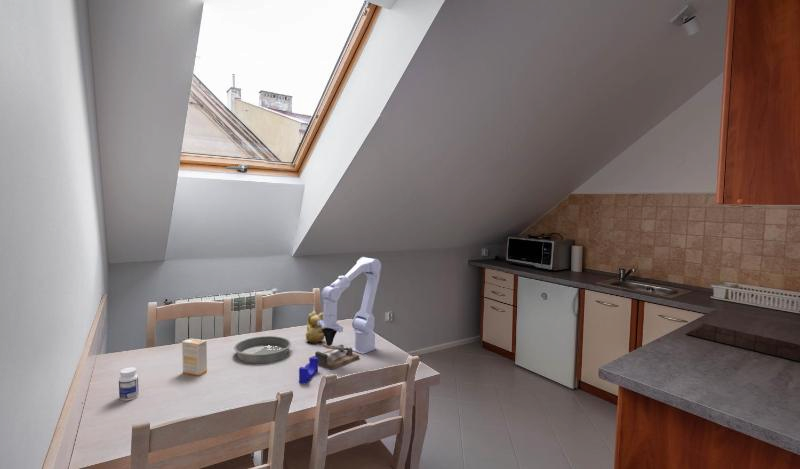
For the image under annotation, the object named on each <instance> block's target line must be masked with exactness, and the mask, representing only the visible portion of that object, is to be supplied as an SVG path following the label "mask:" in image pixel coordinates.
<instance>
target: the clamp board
mask: <svg viewBox="0 0 800 469" xmlns="http://www.w3.org/2000/svg"><path fill="white" fill-rule="evenodd" d="M337 346H344V344H339V345H337ZM347 348H348V349H347V350H339V349H330V350H327V351H324V352H321V351H315V354H314V355H312V356H310V357H309V358H308V361H309V362H310V358H311V357H317V358H318V366H321V367H322V368H325V369H327V370H335V369H336V368H340V367H341V366H344V365H347V364H349V363H351V362H352V363H353V362H354V361H357V360H359V359H360V355H359V354H357V353H354V352H353V351H352V347H347Z"/></svg>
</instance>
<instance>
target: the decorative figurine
mask: <svg viewBox="0 0 800 469" xmlns="http://www.w3.org/2000/svg"><path fill="white" fill-rule="evenodd" d="M323 318H324V312H319V314H317V312H316V311H315V310H312V312H310V313H308V317H307V323H306V330H307V331H306V332H305V339H306V341H307V343H311V344H318V343H320V342H322V341H323V340H324V339H325V336H324V334H323V332H322V329H324V328H323V327H322V326H318V325H317V321H320V320H322V321H323Z"/></svg>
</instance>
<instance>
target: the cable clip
mask: <svg viewBox="0 0 800 469" xmlns="http://www.w3.org/2000/svg"><path fill="white" fill-rule="evenodd" d="M310 357H311V358H310ZM310 357H309V358H310V361H309V363H307V364H306V365H305V366H300V367H299V368H298V383H299V384H304V383H305V384H308V383H309V382H310V381H311V379H313V377H314V376H315V375H316V374H317V373H318V372H319V365H318V358H317V357H313V356H310Z"/></svg>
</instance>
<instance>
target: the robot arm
mask: <svg viewBox="0 0 800 469" xmlns="http://www.w3.org/2000/svg"><path fill="white" fill-rule="evenodd" d="M381 270H382V263H381V261H380V260H379V259H378V258H370V257H366V256H362V257H360V258H359V259H358V260H356V264H354V265H353V267H352V268H351V269H350V270H349V271H348V272H347V273H346V274H345V275H339V276H338V277H337V279H336V280H335V281H334V282H332V283H330V284H329V285H328V286H325V287H324V288H323V289H322V291H321V293H320V296H321V298H322V302H323V314H324V316H323V321H322V320H320V321H317V325H318V326H321V327H322V328H324V329H322V332H323V334H324V339H325V344H327V345H333V342H334V338H335V336H336V335H337V332H338V333H342V332H344V327H343V326H342V325H340V324H338V322H337V320H338V301H339V299H340V297H341V295H342V293H343V292H344V291H345V290H346V289H347V288H349V287H350V285H351V282H352V280H354V279H355V278H357V276H359V275H361V273H364V274H365V276H366V278H367V280H366V284H365V287H364V292H363V297H362V300H361V305H360V309H359V311H358V310H357V312H355V315H354V318H353V319H352V322H351V326H352V328H353V329H354V330H353V331H354V334H355V337H354V347H353V348H352V347H351V348H352V352H355V353H359V354H361V355H365V354H367V353H370V352H372V351H375V350H376V349H377V347H376V334H375V331H374V328H375V316H374V314H373V313H372V312H373V307H374V304H375V298H376V293H377V289H378V285H379V281H380V276H381V274H380V273H381Z"/></svg>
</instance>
